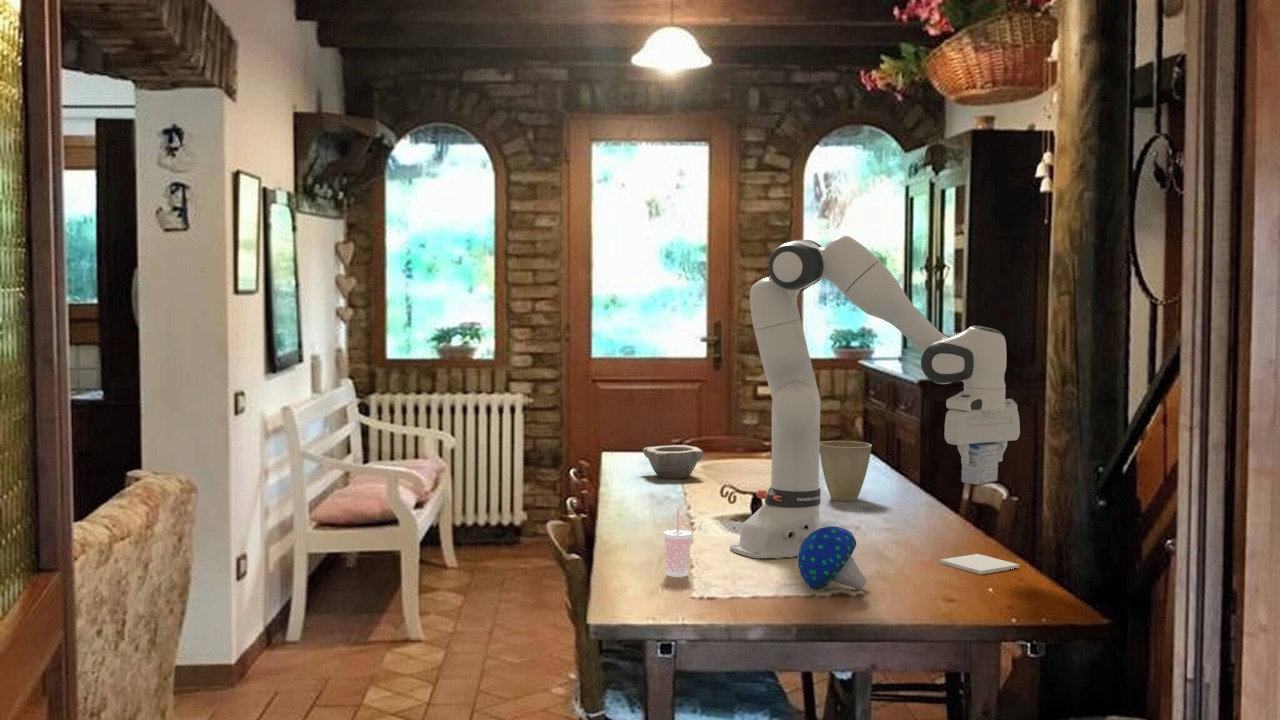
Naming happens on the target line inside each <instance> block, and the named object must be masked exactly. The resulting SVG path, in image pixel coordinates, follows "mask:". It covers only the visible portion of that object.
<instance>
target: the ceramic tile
mask: <svg viewBox="0 0 1280 720" xmlns="http://www.w3.org/2000/svg"><path fill="white" fill-rule="evenodd" d="M939 564H941V565H944V566H947V567H952V568H956V569H959V570H963V571H966V572H969V573H974V574H978V575H985V574H986V575H987V574H991V573H992V574H993V573H998V572H1003V571H1004V570H1005V571H1010V570H1009V569H1011V570H1015V569H1014V568H1017V569H1020V564H1018V563H1014V562H1012V561H1007V560H1003V559H999V558H996V557H995V558H994V557H991V556H989V555H985V554H980V553H975V554H966V555H961V556H955V557H948V558H942V559H939Z"/></svg>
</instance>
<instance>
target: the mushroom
mask: <svg viewBox="0 0 1280 720" xmlns="http://www.w3.org/2000/svg"><path fill="white" fill-rule="evenodd" d="M857 545H858V544H857V540H856V538H855V536H854V534H853V532H852V531H850V530H848V529H846V528H842V527H839V526H830V525H829V526H824V527H820V529H818V530H816V531H814V532H812V533H811V534H809V535H808V536H807V538H806V539H805V540H804V542H803V543H802V545H801V546H800V550H799V553H798V557H797V561H798V563H797V565H798V569H799V573H800V576H801V577H802V579H803V581H804V583H805V584H806V585H807V586H808V587H809V588H810V589H812V590H818V591H821V590H823V589H824V588H826V587H827V586H828V585H829V584H830V583H831V582H834V583H838V584H841V585H844V586H848V587H851V588H853V589H856V590H857V591H861V590H862V589H863V588H864V587H865V585H866V584H867V581H868V579H867V578H866V577H865V575H864V573H862V571H861V569H860V568H859V566H858V564H857V563H856V561H855V560H854V558H853V557H852V555H853V553H854V551H855V549H856V547H857Z"/></svg>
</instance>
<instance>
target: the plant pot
mask: <svg viewBox="0 0 1280 720" xmlns="http://www.w3.org/2000/svg"><path fill="white" fill-rule="evenodd" d="M872 447H873V445H872V444H871V443H868V442H864V441H863V442H862V441H850V440H848V441H847V440H830V441H820V449H819V458H820V462H821V464H820V465H821V467H822V472H823V477H824V482H825V484H826V488H827V490H828V494H829V497H830V500H833V501H837V500H838V502H839V501H840V502H855V501H857V500H858V498H859V495H860V493H861V490H862V488H863V485H864V482H865V478H866V475H867V473H868V472H867V471H868V468H869V463H870V458H871V452H872Z"/></svg>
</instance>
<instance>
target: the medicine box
mask: <svg viewBox="0 0 1280 720" xmlns="http://www.w3.org/2000/svg"><path fill="white" fill-rule="evenodd" d="M967 450H968V453H969V456H972V460H971V461H972V464H968V465H964V464H962V463H961V480H960V481H961V482H962V483H966V484H971V485H982V484H986V483H992V482H996V481H998V474H999V473H998V472H999V462H998V458H999V444H998V443H996V442H988V443H977V444H969V449H967Z"/></svg>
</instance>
